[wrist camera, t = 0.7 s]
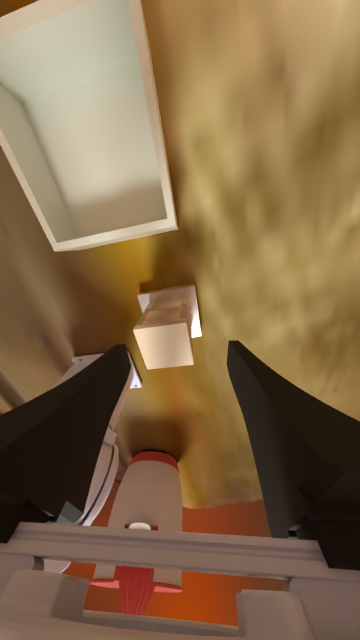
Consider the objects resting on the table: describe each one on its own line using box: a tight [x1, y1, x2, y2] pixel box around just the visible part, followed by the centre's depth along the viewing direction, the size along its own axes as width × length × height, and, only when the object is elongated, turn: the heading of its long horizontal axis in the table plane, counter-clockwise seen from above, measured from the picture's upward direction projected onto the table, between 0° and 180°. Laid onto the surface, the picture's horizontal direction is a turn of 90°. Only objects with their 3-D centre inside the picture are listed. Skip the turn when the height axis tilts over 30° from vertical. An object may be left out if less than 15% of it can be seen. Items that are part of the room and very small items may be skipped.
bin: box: [0, 0, 178, 252], centre depth 12 cm, size 11×11×4 cm
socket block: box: [133, 297, 194, 369], centre depth 16 cm, size 5×5×6 cm
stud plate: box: [137, 283, 202, 337], centre depth 18 cm, size 7×7×6 cm
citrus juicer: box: [90, 451, 183, 615], centre depth 31 cm, size 16×17×20 cm
